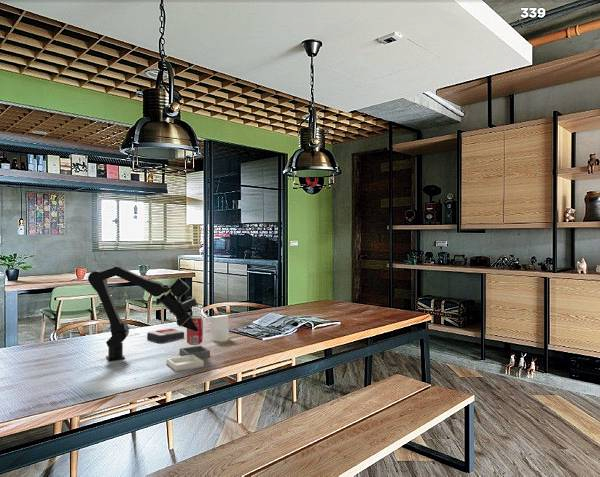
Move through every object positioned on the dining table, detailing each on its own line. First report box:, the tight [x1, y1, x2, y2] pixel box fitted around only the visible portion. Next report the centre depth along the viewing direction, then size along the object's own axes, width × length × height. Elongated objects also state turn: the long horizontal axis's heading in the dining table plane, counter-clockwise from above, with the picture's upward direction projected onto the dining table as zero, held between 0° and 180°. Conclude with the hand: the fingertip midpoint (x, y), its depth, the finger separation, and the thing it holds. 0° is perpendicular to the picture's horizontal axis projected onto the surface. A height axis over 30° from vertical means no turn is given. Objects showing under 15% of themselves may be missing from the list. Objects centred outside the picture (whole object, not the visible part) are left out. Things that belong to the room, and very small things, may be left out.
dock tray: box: [165, 355, 205, 372], centre depth 180 cm, size 12×12×2 cm
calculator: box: [146, 328, 185, 344], centre depth 224 cm, size 11×4×15 cm
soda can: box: [186, 315, 204, 346], centre depth 195 cm, size 7×7×12 cm
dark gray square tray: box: [179, 345, 211, 359], centre depth 195 cm, size 10×10×2 cm
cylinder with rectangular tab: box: [210, 314, 229, 342], centre depth 224 cm, size 9×9×12 cm
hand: (198, 328), depth 195 cm, fingers closed on soda can, 7 cm apart
